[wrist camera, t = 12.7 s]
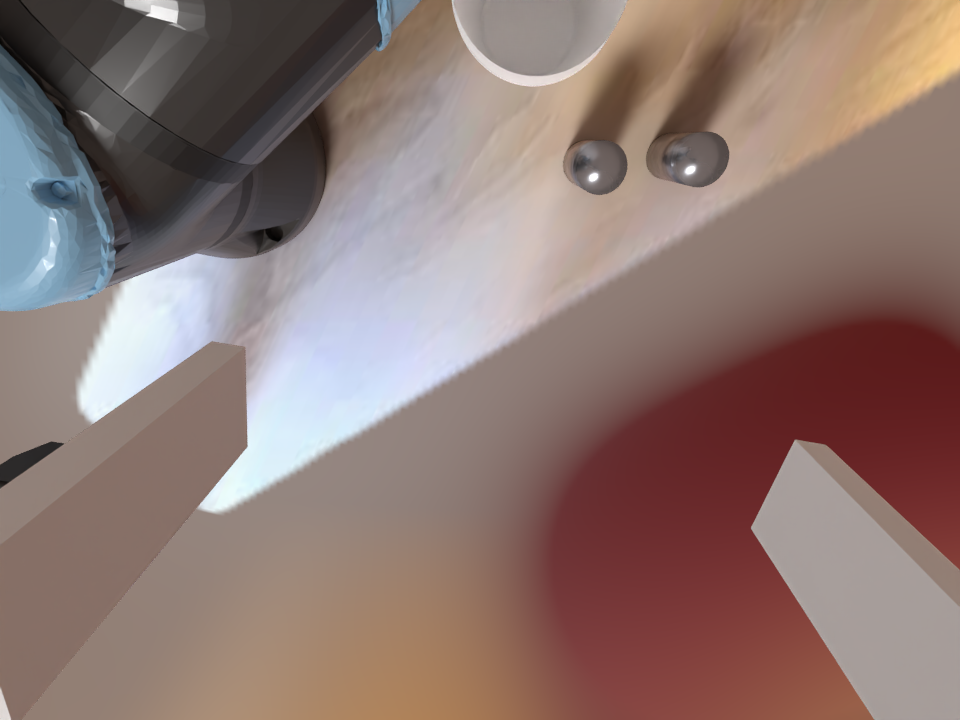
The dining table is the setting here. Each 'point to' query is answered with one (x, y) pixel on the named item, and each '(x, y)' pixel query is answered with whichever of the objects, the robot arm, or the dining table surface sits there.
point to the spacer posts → (648, 161)
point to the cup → (536, 35)
